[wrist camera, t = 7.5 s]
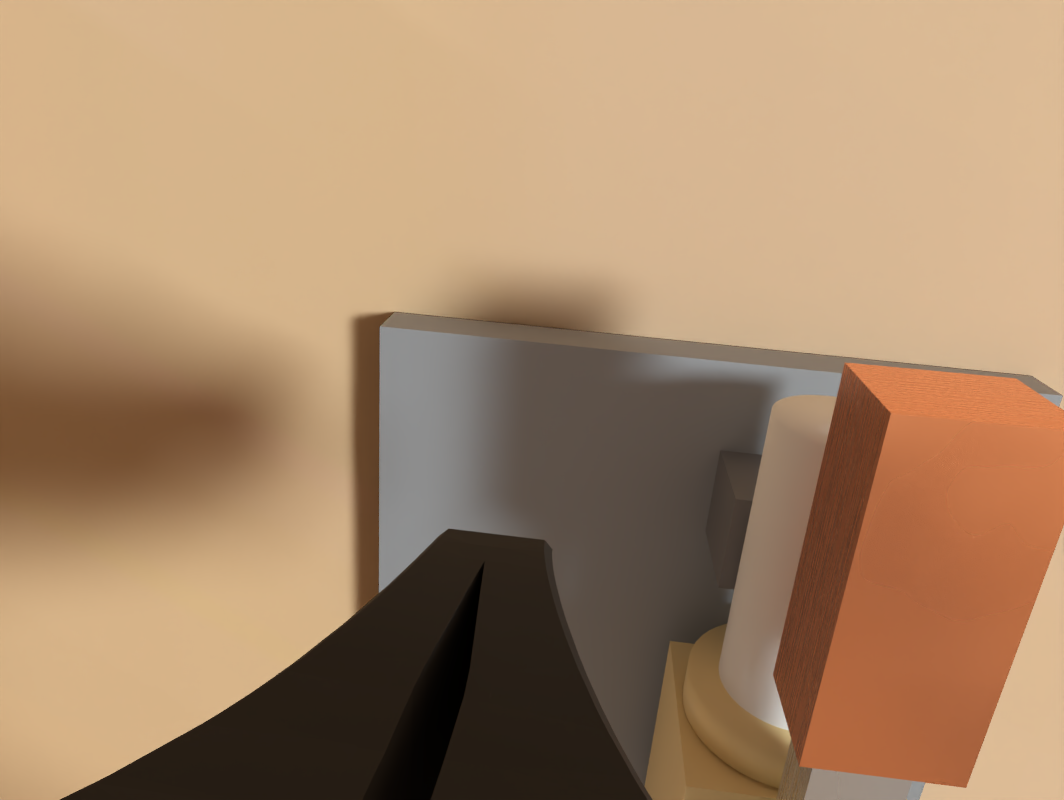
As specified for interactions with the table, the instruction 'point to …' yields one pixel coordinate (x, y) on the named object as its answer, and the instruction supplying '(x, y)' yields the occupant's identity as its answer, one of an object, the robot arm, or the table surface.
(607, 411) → the valve board
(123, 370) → the table surface
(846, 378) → the valve lever
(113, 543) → the table surface
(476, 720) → the robot arm
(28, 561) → the table surface
